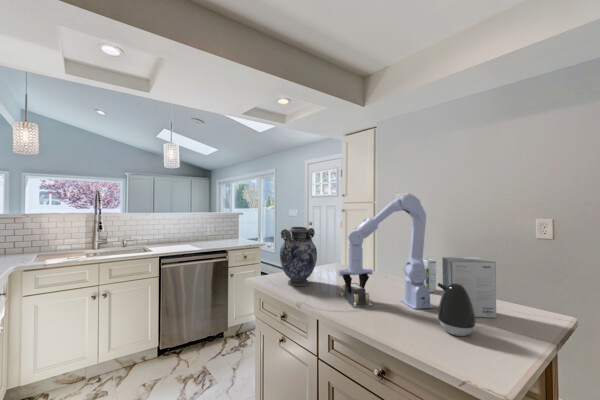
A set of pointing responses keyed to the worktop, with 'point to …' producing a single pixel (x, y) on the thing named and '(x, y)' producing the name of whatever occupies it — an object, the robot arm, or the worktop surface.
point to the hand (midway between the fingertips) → (355, 292)
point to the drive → (356, 292)
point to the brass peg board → (356, 303)
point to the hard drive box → (473, 281)
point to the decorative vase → (298, 255)
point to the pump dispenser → (456, 310)
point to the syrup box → (430, 274)
